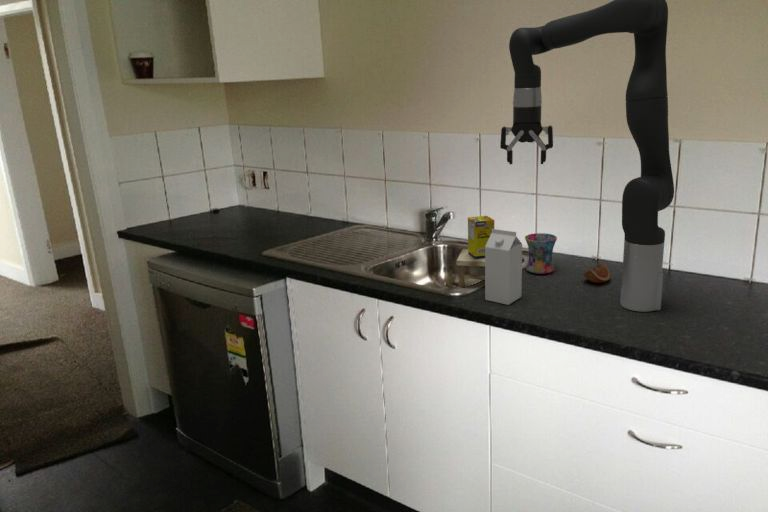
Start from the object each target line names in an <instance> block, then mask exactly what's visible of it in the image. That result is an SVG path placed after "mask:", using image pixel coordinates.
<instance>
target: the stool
mask: <svg viewBox="0 0 768 512" xmlns="http://www.w3.org/2000/svg"><path fill="white" fill-rule="evenodd" d="M456 266H458V288H465V279H467V280H470V279H471V280H485V274H470V269H480V270H481V269H483V270H485V258H479V259H475V258H473V257H472V256H471V255H470V254H468V248H462V250H461V251H460V253H459V255H458V257H457V259H456Z"/></svg>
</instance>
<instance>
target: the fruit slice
mask: <svg viewBox="0 0 768 512" xmlns="http://www.w3.org/2000/svg"><path fill="white" fill-rule="evenodd" d="M582 275H583V276H584V277H585V278H586V279H587V280H588V281H590V282H592V283H596V284H602V283H603V284H604V283H606V282H607V281H608V280H610V279H611V271H610V269H609V266H608V265H607V263H606V262H603V263H601V264H598V265H595V266H594V267H593V268H591V269H588V270H587V271H585V272H583V273H582Z"/></svg>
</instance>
